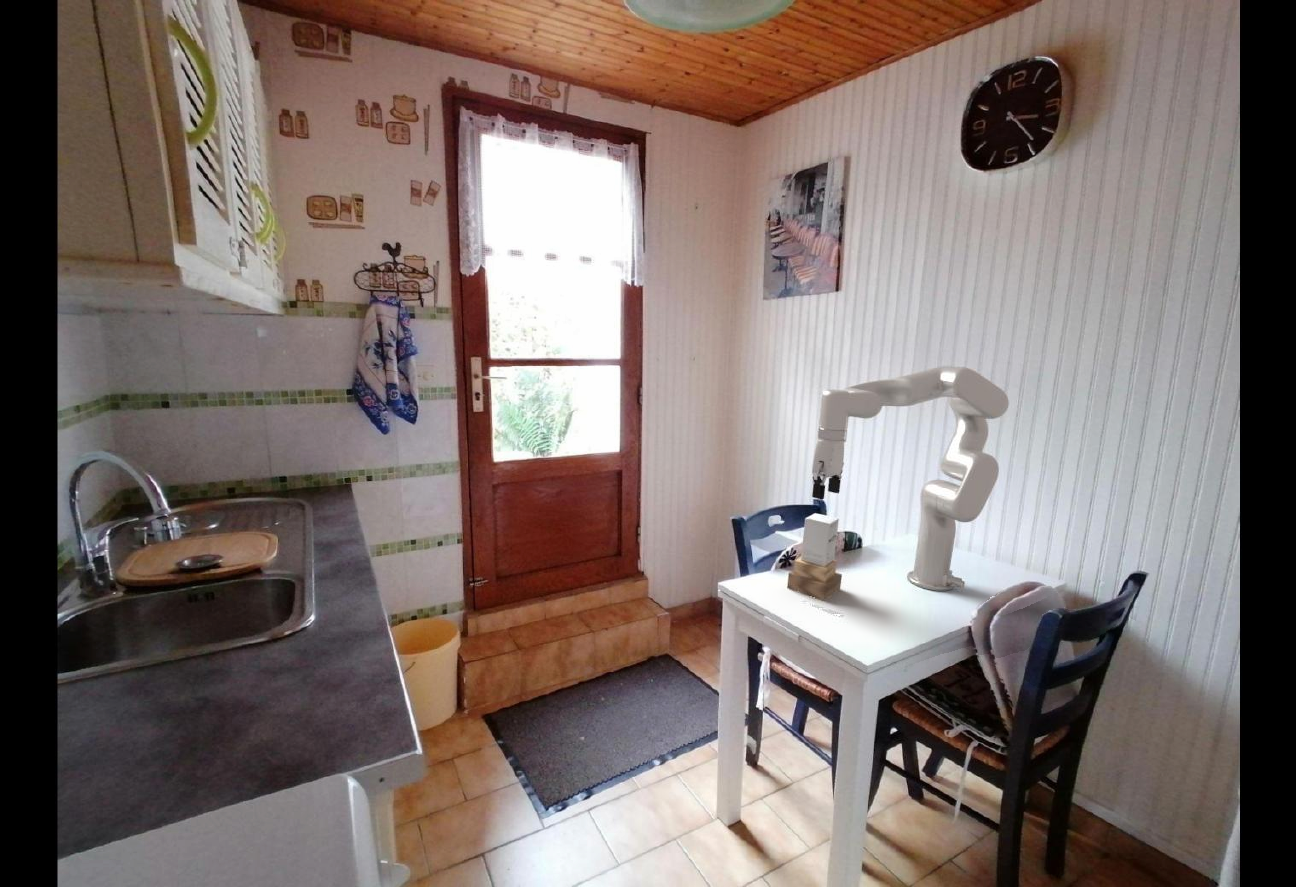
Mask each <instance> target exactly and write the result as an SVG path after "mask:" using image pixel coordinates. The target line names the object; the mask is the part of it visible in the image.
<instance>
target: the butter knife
mask: <svg viewBox="0 0 1296 887" xmlns="http://www.w3.org/2000/svg"><path fill="white" fill-rule="evenodd" d="M803 602H808V601H807V600H803V601H802V603H803ZM813 604H814V603H812V606H811V604H810V605H809V606H811V607H815V608H817V609H819V608H822V610H821V611H824V612H826V613H828V614H830V615H832V614H833V615H832V616H835V615H834V614H843V613H841V612H839V611H837V610H833V609H831V608H827V609H828V610H827V609H823V608H825V607H823V606H820V605H817V604H815V605H813ZM840 616H842V615H840ZM840 616H839V618H841V617H840ZM836 617H837V615H836ZM842 617H843V616H842Z"/></svg>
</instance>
